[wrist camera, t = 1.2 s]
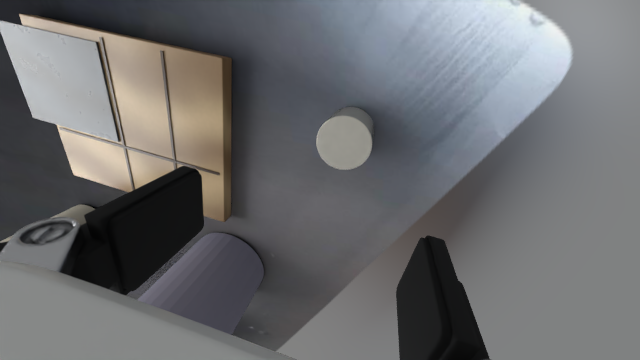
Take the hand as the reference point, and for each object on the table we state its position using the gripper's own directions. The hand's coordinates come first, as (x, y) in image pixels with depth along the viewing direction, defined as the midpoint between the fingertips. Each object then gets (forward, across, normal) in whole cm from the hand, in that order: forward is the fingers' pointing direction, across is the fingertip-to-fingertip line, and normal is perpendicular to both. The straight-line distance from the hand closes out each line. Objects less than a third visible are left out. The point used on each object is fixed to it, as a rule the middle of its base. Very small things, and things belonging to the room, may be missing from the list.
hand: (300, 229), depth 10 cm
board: (+15, +24, +4) cm, 29 cm away
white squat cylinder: (+14, 0, -1) cm, 15 cm away
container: (+15, +12, +21) cm, 29 cm away
